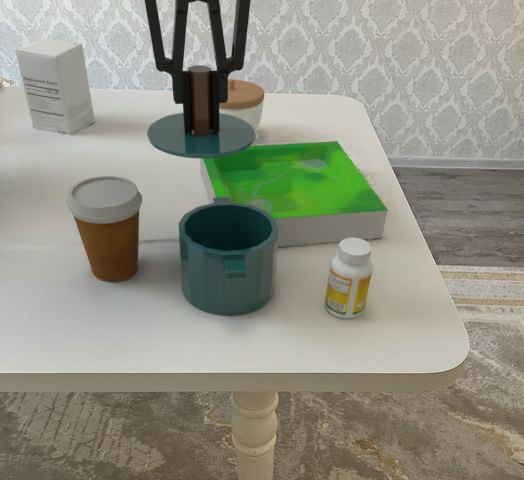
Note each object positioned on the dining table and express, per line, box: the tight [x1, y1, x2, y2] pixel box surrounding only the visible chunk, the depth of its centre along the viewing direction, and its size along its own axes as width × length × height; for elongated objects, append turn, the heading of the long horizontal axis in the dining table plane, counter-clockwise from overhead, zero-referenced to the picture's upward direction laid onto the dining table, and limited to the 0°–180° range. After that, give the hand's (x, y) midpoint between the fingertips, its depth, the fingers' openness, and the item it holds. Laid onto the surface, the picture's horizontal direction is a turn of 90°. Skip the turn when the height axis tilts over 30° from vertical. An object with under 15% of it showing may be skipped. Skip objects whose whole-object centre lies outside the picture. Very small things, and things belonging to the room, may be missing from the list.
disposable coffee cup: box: [66, 175, 143, 283], centre depth 79 cm, size 10×10×12 cm
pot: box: [177, 197, 279, 317], centre depth 78 cm, size 13×18×10 cm
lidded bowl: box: [219, 78, 265, 132], centre depth 115 cm, size 13×13×11 cm
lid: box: [146, 64, 256, 159], centre depth 73 cm, size 14×14×9 cm
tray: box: [199, 140, 389, 248], centre depth 97 cm, size 25×25×5 cm
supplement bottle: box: [324, 238, 374, 319], centre depth 76 cm, size 5×5×10 cm
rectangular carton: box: [15, 37, 95, 136], centre depth 114 cm, size 9×9×15 cm
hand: (201, 128), depth 74 cm, fingers closed on lid, 3 cm apart
